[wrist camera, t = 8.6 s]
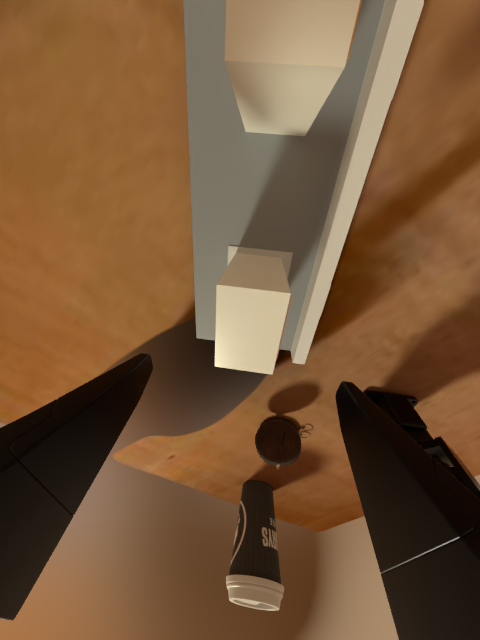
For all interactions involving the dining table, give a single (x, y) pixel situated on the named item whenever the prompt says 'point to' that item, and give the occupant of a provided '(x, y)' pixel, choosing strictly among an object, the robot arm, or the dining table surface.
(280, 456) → the compass
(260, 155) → the shelf board
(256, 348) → the carton
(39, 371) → the dining table surface
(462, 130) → the dining table surface
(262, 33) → the faced carton
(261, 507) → the coffee cup
